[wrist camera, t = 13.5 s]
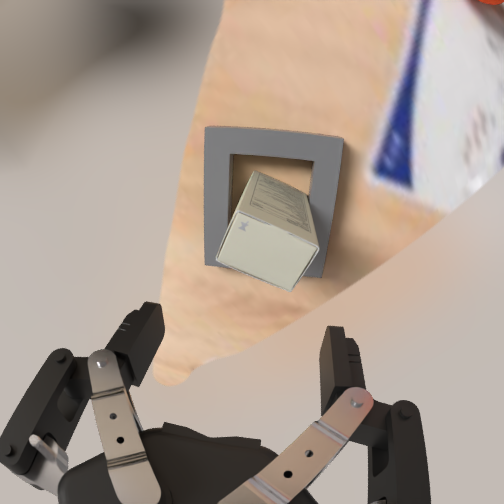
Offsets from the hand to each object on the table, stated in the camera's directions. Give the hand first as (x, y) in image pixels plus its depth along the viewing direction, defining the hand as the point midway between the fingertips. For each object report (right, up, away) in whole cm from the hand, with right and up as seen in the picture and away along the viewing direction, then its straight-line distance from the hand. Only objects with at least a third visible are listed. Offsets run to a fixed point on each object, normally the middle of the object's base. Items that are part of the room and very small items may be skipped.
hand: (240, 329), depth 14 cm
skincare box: (+3, +9, +17) cm, 20 cm away
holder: (+2, +9, +17) cm, 20 cm away
